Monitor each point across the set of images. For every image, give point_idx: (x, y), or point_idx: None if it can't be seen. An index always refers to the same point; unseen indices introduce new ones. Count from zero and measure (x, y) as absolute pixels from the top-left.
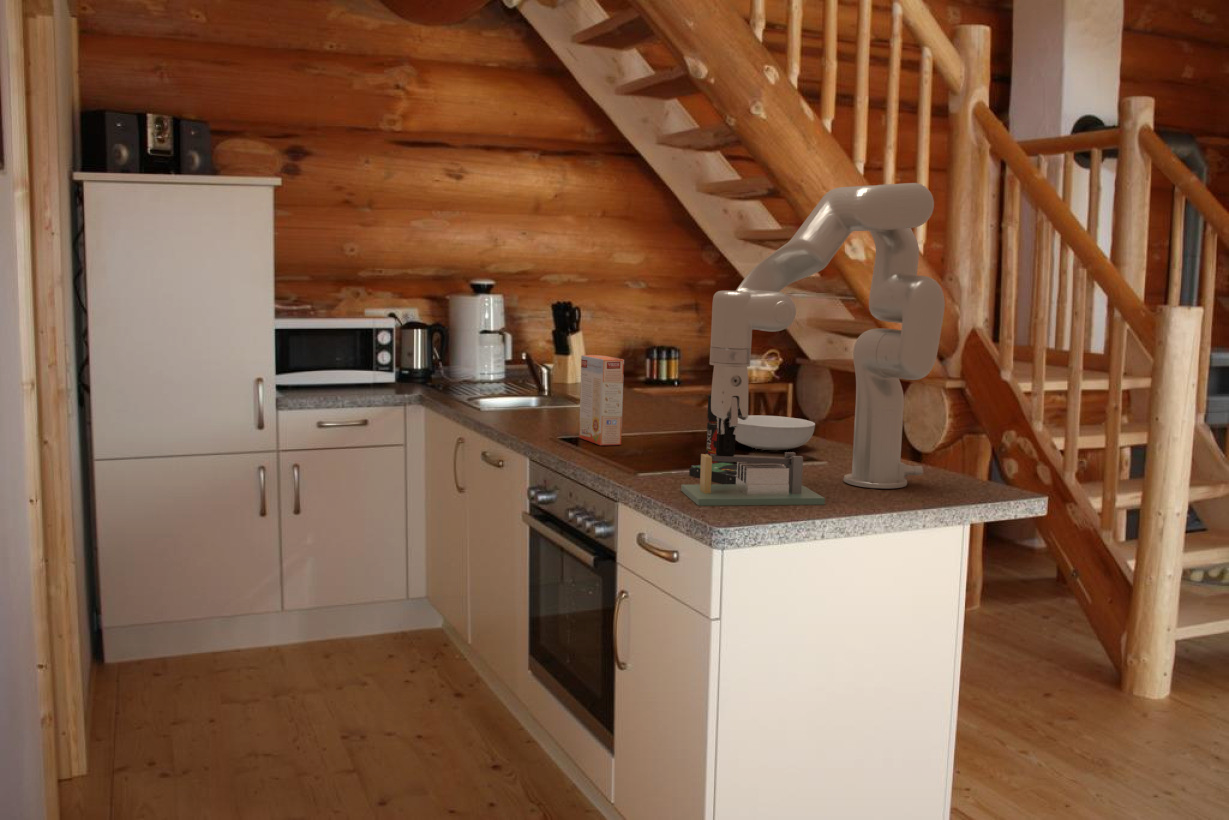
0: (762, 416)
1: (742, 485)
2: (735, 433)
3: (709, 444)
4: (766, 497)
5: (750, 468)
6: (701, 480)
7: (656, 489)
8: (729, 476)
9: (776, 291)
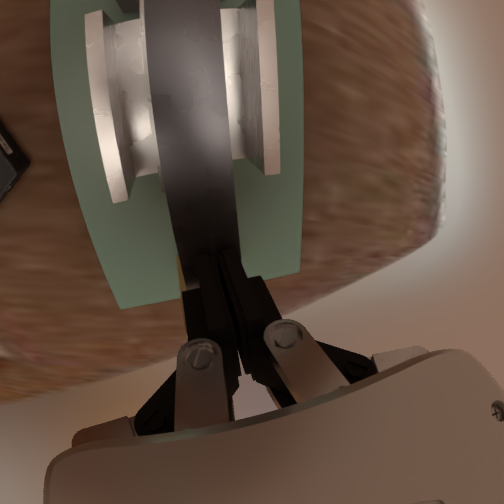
0: None
1: None
2: (301, 326)
3: None
4: (288, 94)
5: (279, 161)
6: None
7: (122, 338)
8: (3, 194)
9: None
